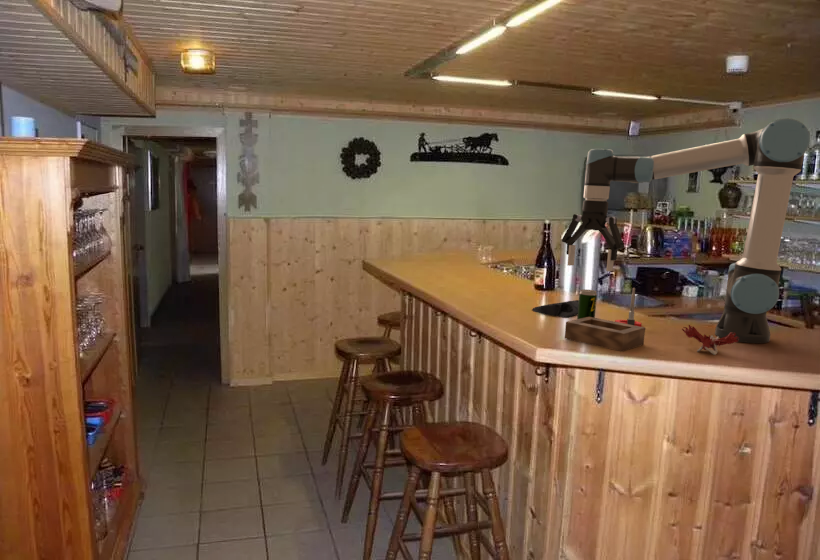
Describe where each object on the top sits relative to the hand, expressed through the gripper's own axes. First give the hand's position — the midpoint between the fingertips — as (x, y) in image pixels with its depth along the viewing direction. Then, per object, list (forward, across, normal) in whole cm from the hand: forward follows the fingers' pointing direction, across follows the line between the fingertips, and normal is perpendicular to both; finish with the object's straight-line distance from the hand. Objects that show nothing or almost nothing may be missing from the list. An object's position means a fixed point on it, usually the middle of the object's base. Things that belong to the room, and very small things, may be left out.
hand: (589, 268), depth 198 cm
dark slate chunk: (+20, +19, -18) cm, 33 cm away
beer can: (+19, 0, 0) cm, 19 cm away
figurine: (+19, -37, -2) cm, 42 cm away
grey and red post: (+19, -6, -17) cm, 27 cm away
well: (+19, -13, +12) cm, 26 cm away
